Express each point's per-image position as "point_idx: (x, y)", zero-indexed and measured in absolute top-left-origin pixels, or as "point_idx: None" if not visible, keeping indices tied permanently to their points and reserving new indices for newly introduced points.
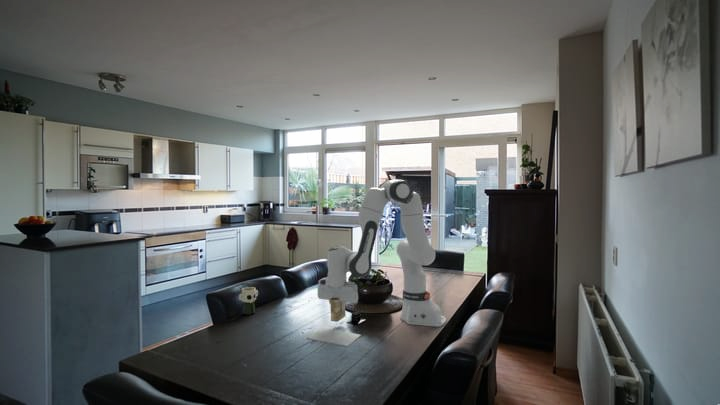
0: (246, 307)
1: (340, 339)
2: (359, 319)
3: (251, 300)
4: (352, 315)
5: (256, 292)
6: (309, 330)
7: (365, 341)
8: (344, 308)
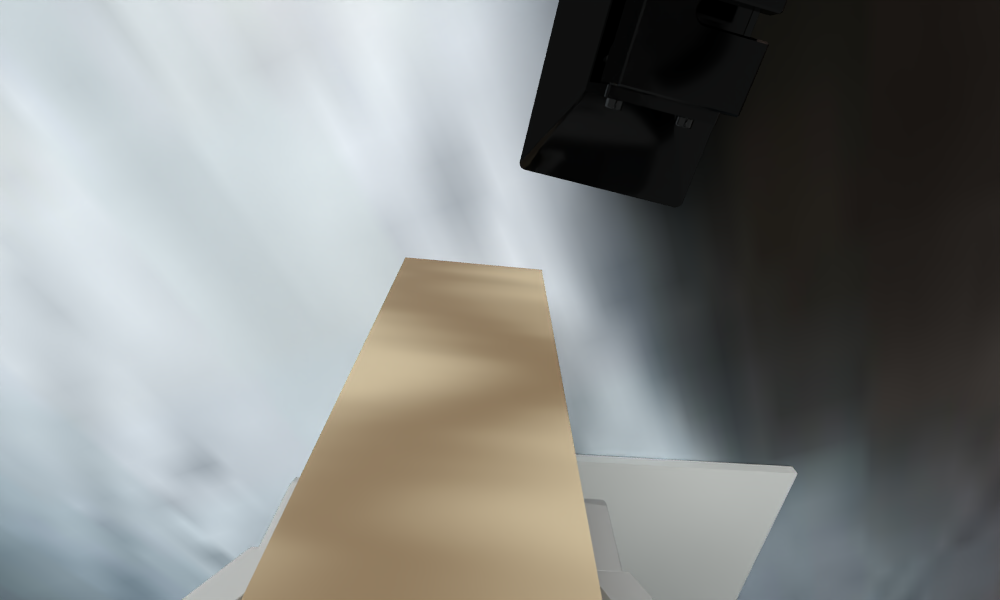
0: None
1: None
2: None
3: None
4: (630, 90)
5: None
6: (241, 512)
7: (842, 546)
8: (606, 536)
